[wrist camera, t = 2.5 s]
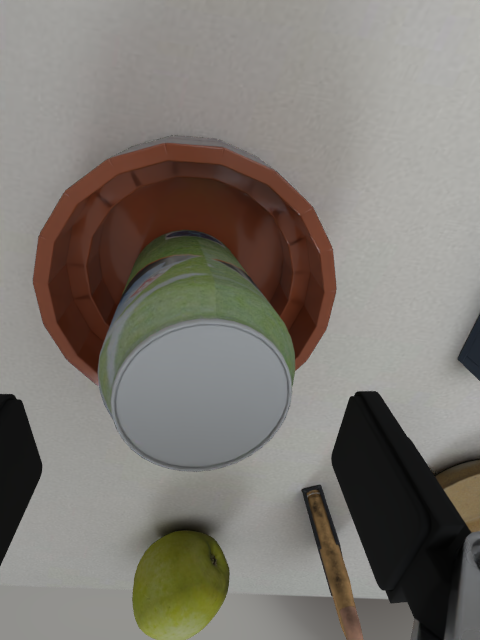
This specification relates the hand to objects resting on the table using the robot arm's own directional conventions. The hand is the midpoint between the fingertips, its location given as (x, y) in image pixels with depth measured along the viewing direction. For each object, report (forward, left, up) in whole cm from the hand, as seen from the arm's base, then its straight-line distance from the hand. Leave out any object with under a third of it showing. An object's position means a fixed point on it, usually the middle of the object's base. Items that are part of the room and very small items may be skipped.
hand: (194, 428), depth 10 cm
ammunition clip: (+27, +13, -12) cm, 32 cm away
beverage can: (0, 0, -12) cm, 12 cm away
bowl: (0, 0, -12) cm, 12 cm away
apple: (+29, -1, -12) cm, 31 cm away
